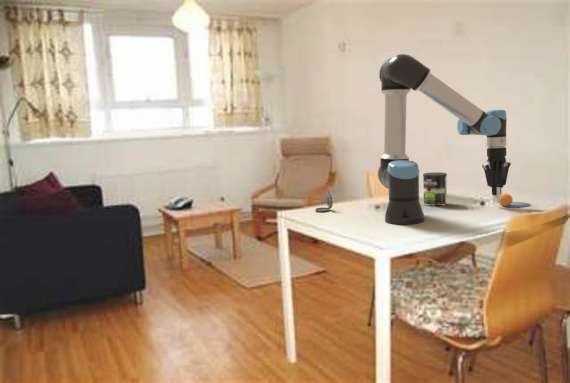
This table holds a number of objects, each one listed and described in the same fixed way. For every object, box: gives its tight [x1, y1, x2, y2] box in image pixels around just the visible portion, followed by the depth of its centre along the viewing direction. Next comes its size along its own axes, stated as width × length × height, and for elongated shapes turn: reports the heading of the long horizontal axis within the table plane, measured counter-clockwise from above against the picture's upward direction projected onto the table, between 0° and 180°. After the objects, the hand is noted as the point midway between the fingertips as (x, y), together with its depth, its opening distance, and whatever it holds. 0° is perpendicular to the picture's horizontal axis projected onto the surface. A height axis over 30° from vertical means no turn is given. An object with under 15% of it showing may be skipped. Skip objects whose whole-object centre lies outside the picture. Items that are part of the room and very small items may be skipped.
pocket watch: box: [314, 189, 334, 213], centre depth 224 cm, size 8×8×10 cm
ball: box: [499, 193, 514, 207], centre depth 209 cm, size 6×6×6 cm
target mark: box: [499, 201, 532, 208], centre depth 211 cm, size 12×12×1 cm
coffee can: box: [422, 171, 448, 206], centre depth 223 cm, size 10×10×14 cm
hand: (496, 202), depth 208 cm, fingers closed
